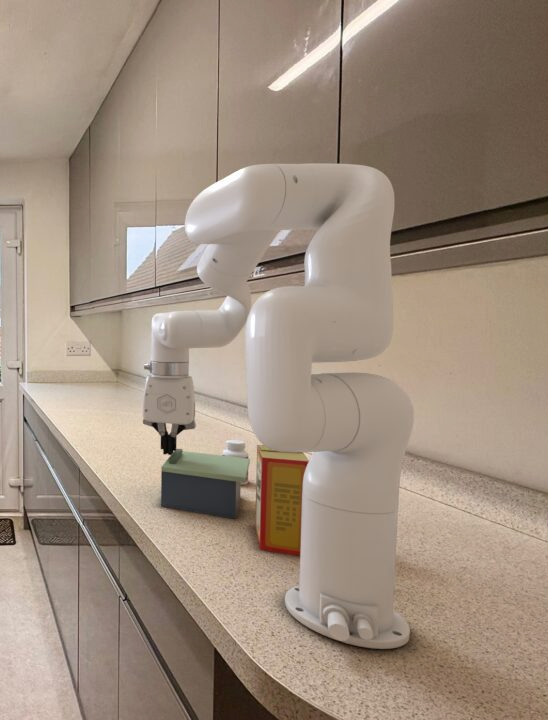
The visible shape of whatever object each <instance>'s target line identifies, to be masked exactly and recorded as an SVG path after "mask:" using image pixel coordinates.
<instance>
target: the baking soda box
mask: <svg viewBox="0 0 548 720" xmlns="http://www.w3.org/2000/svg"><path fill="white" fill-rule="evenodd" d="M309 460H310V459H308V457H307V456H306V454H305V452H299V453H285V452H278V451H274V450H272V449H269V448H267V447H266V446H264V445H263V444H256V474H255V475H256V477H255V478H256V479H255V480H256V481H255V519H254V520H255V521H254V522H255V523H254V524H255V525H254V527H255V528H254V530H255V533H256V537H257V542H258V546H259V550H261V551H262V550H263V551H267V552H274V553H281V554H287V555H293V556H299V557H300V550H301V517H302V490H303V478H304V473H305V470H306V467H307V464H308V462H309Z"/></svg>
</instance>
